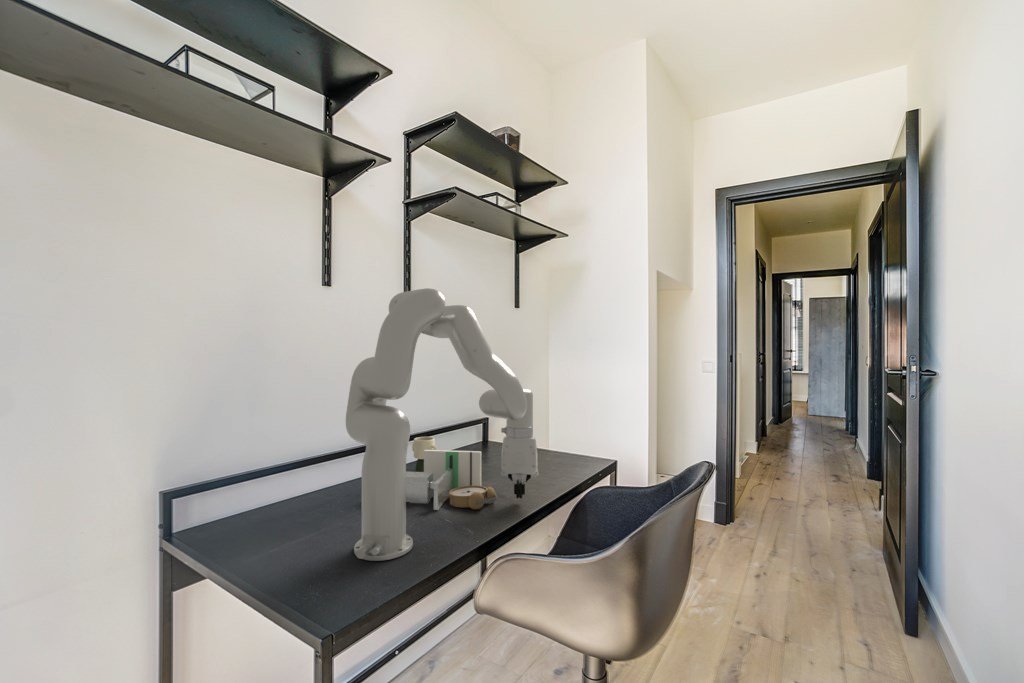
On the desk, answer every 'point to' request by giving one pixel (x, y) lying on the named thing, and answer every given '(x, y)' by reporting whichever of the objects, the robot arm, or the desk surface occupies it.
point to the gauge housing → (418, 487)
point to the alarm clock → (472, 496)
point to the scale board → (455, 466)
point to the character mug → (422, 450)
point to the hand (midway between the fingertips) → (519, 496)
